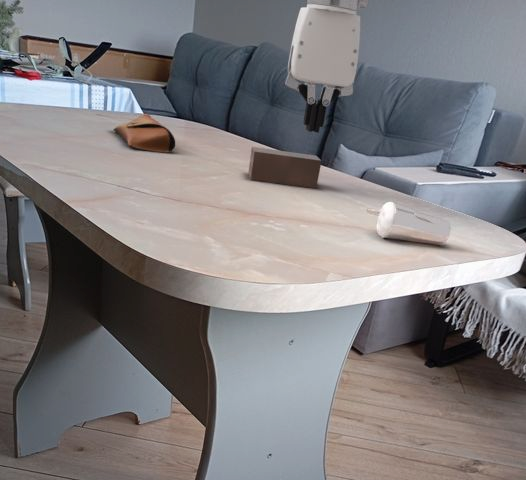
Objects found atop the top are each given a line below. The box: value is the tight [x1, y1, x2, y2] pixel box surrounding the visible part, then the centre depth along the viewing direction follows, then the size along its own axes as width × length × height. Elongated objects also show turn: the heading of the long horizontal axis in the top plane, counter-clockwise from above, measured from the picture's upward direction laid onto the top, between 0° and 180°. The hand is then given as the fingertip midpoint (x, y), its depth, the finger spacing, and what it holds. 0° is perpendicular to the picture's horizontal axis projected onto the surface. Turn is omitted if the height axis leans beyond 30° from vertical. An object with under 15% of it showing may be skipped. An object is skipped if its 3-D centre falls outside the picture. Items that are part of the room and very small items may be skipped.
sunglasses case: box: [112, 113, 176, 154], centre depth 115 cm, size 18×7×7 cm
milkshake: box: [366, 201, 452, 246], centre depth 79 cm, size 5×5×10 cm
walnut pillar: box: [248, 146, 322, 189], centre depth 101 cm, size 4×4×11 cm
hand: (312, 130), depth 99 cm, fingers closed
